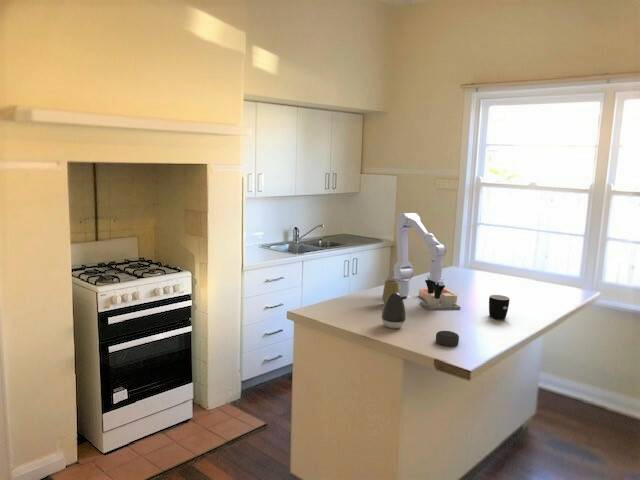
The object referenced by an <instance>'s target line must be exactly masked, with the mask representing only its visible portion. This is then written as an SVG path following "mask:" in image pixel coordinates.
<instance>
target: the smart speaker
mask: <svg viewBox="0 0 640 480" xmlns="http://www.w3.org/2000/svg"><path fill="white" fill-rule="evenodd" d="M435 342H436V343H437V344H439V345H441V346H443V345H444V347H455V346H456V347H457V345H458V344H459V343H460V336H459V334H458V333H456V332H454V331H450V330H439V331H437V332H436V334H435Z"/></svg>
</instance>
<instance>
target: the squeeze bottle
mask: <svg viewBox="0 0 640 480" xmlns="http://www.w3.org/2000/svg"><path fill="white" fill-rule="evenodd" d="M386 277H387V279H386V280H385V281H384V285H383V286H384V287H383V292H382V302H383V305H384V304H385V302H386V300H387V298H388V296H389V295H390V294H391V293H393V292H397V293H399V284H398V282H397V277H396V276H395V274H394V268H393V269H391V270H390V274H389V276H386Z"/></svg>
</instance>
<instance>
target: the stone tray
mask: <svg viewBox="0 0 640 480" xmlns="http://www.w3.org/2000/svg"><path fill="white" fill-rule="evenodd" d="M419 304H420V305H422V306H423V307H424V308H425V309H427V310H428V311H447V310H448V311H455V310H456V311H459V310H461V306H460V305H459V304H457V303H456V302H454V303H453V307H443V306H441V301H439V307H430V306H428V305H427V301H426V300H420V301H419Z"/></svg>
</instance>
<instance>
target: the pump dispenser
mask: <svg viewBox="0 0 640 480" xmlns="http://www.w3.org/2000/svg"><path fill="white" fill-rule="evenodd" d="M407 299H408V297H407V296H404V297H401V295H400V294H399V293H397V292H393V293H391V294H390V295H389V296H388V298H387V300H386V302H385V304H384V303H383V308H382V312H381V320H382V323H383V324H384V326H385V327H387V328H388V329H395V330H396V329H399V328H401V327H403V325H404V323H405V322H406V319H407V317H406V314H407V313H406V307H405V302H404V300H407Z"/></svg>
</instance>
